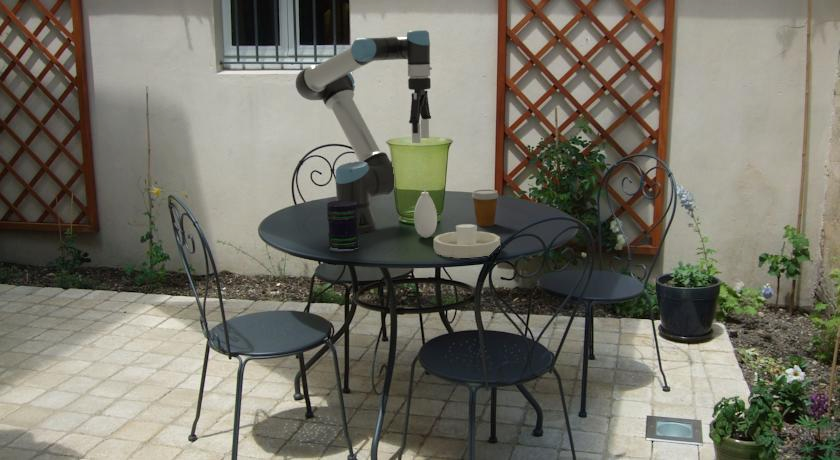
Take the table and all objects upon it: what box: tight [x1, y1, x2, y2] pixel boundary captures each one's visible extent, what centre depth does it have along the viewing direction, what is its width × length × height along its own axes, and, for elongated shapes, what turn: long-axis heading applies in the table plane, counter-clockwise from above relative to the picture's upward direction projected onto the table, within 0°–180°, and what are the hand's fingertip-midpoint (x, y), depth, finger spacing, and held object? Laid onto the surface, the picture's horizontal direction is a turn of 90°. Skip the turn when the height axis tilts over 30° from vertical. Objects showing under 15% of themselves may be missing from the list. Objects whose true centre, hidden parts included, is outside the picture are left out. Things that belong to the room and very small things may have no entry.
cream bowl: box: [432, 230, 501, 259], centre depth 279 cm, size 20×20×4 cm
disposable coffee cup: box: [471, 189, 499, 227], centre depth 315 cm, size 10×10×12 cm
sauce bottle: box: [413, 184, 438, 239], centre depth 297 cm, size 8×8×18 cm
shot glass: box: [455, 223, 478, 245], centre depth 279 cm, size 7×7×7 cm
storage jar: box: [326, 200, 360, 249], centre depth 285 cm, size 10×10×15 cm
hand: (420, 140), depth 302 cm, fingers open, 13 cm apart
